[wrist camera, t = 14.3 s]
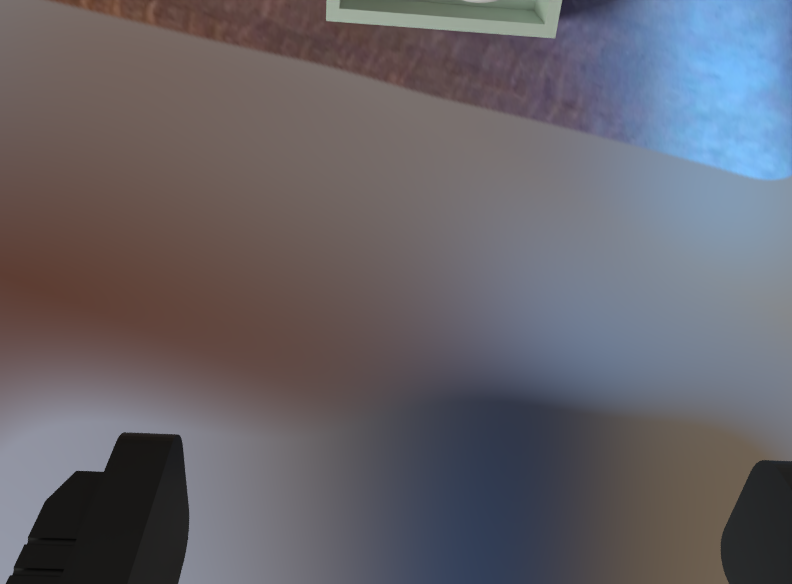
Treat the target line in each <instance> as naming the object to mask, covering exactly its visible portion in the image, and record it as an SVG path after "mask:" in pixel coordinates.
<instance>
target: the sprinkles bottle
mask: <svg viewBox="0 0 792 584" xmlns="http://www.w3.org/2000/svg"><path fill="white" fill-rule="evenodd" d="M463 1H466V2H472V3H487V2H494V1H497V0H463Z"/></svg>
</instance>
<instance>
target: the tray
mask: <svg viewBox="0 0 792 584" xmlns="http://www.w3.org/2000/svg"><path fill="white" fill-rule="evenodd" d="M561 4H562V0H497V1H494V2H487V3H472V2H466V1H463V0H327V7H326V21H335V22H348V23H361V24H374V25H387V26H400V27H413V28H426V29H440V30H453V31H466V32H479V33H492V34H505V35H518V36H531V37H544V38H555V36H556V30H557V25H558V20H559V14H560V9H561Z"/></svg>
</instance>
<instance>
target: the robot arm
mask: <svg viewBox="0 0 792 584" xmlns="http://www.w3.org/2000/svg"><path fill="white" fill-rule="evenodd" d="M188 531H189V505H188V496H187V485H186V475H185V465H184V454H183V445H182V440H181V437H180V435H175V434H174V435H173V434H150V433H126V432H124V433H122V434H121V435H120V436H119V438H118V439H117V441H116V444H115V446H114V449H113V451H112V454H111V456H110V458H109V461H108V463H107V466H106V468H105V471H104V472H92V471H76V472H75V473H74V474H73V475H72V476H71V477H70V478H69V479H68V480H66V481H65V482H64V483H63V484H62V486H60V488H58V489H57V490H56V491H55V492H54V493H53V494H52V495H51V496H50V497H49V498H48V499H47V500H46V501H45V503H44V505H43V507H42V509H41V511H40V513H39V515H38V518H37V520H36V522H35V524H34V526H33V528H32V530H31V532H30V534H29V536H28V543H27V545H24V547H23V549H22V551H21V553H20V555H19V557H18V559H17V561H16V564H15V566H14V572H13V575H11V576H10V577H9V578H8V580H7V582H6V584H178V582H179V578H180V574H181V570H182V566H183V562H184V558H185V553H186V547H187V540H188ZM721 559H722V565H723V569H724V572H725V575H726V577H727V580H728V582H729V584H792V461H769V460H762V461H759V462H758V463H756V465H755V466H754V467H753V469H752V471H751V472H750V474H749V477H748V479H747V481H746V483H745V485H744V487H743V490H742V492H741V494H740V496H739V498H738V501H737V503H736V505H735V507H734V509H733V511H732V513H731V515H730V518H729V520H728V522H727V524H726V526H725V528H724V531H723V534H722V539H721Z"/></svg>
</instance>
